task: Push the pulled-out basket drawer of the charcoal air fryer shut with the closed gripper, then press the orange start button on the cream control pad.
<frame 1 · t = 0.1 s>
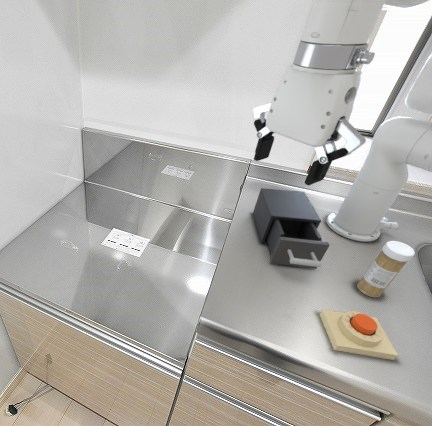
hand: (284, 169, 50), 31 cm above the worktop, tool pointing down, fingers open, 9 cm apart
control pad: (353, 335, 58), on the worktop
start button: (363, 324, 56), point 4 cm above the worktop, slide at 0.1 cm
sprinkles bottle: (367, 290, 67), on the worktop
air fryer: (277, 230, 85), on the worktop
drawer: (294, 243, 73), point 5 cm above the worktop, slide at 7.0 cm
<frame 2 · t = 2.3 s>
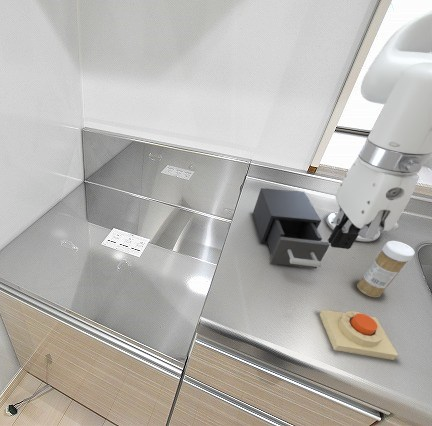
hand: (338, 244, 55), 17 cm above the worktop, tool pointing down, fingers closed
nothing on the worktop moved.
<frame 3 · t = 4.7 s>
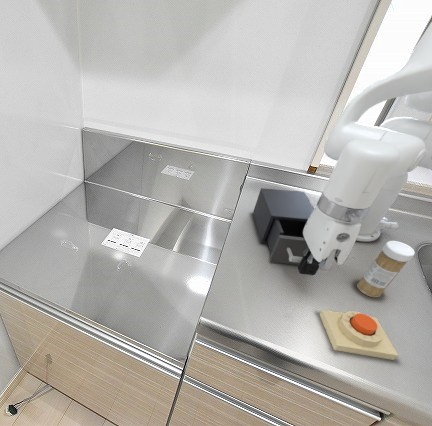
hand: (305, 271, 66), 5 cm above the worktop, tool pointing down, fingers closed
drawer: (293, 241, 74), point 5 cm above the worktop, slide at 6.4 cm, touching gripper
everything else where it was.
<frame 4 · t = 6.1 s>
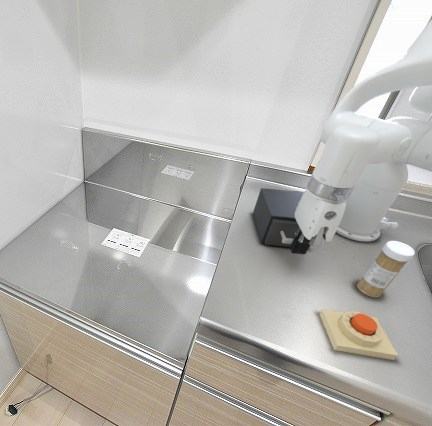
hand: (297, 251, 71), 5 cm above the worktop, tool pointing down, fingers closed
drawer: (286, 225, 79), point 5 cm above the worktop, slide at 0.0 cm, touching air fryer, gripper
everything else where it was.
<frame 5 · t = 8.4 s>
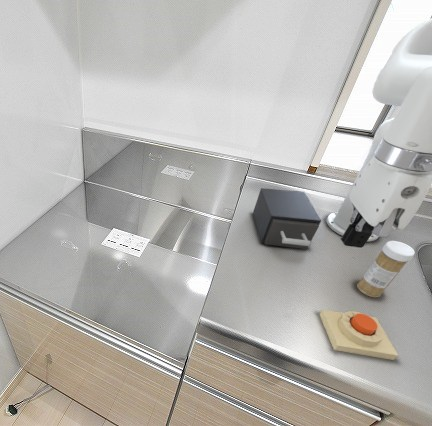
hand: (351, 243, 56), 17 cm above the worktop, tool pointing down, fingers closed
drawer: (286, 225, 79), point 5 cm above the worktop, slide at 0.0 cm
everything else where it was.
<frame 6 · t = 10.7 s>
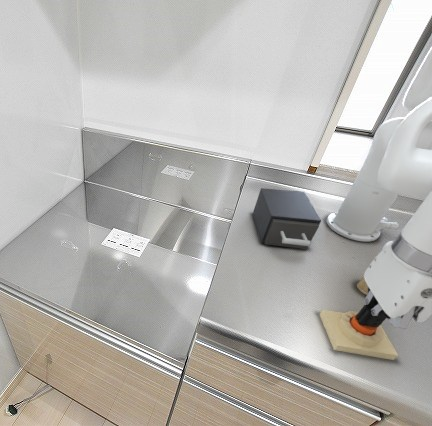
hand: (365, 322, 55), 5 cm above the worktop, tool pointing down, fingers closed
start button: (363, 324, 56), point 4 cm above the worktop, slide at 0.1 cm, touching gripper
everything else where it was.
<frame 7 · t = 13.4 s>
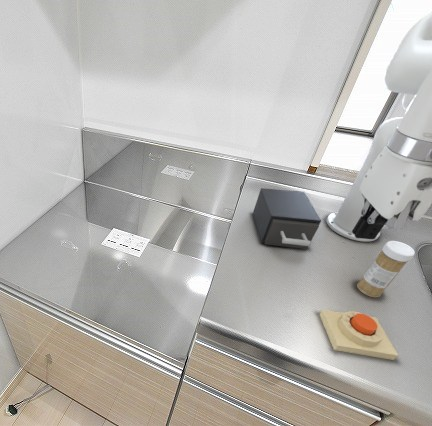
hand: (362, 235, 55), 18 cm above the worktop, tool pointing down, fingers closed
start button: (363, 324, 56), point 4 cm above the worktop, slide at 0.1 cm
everything else where it was.
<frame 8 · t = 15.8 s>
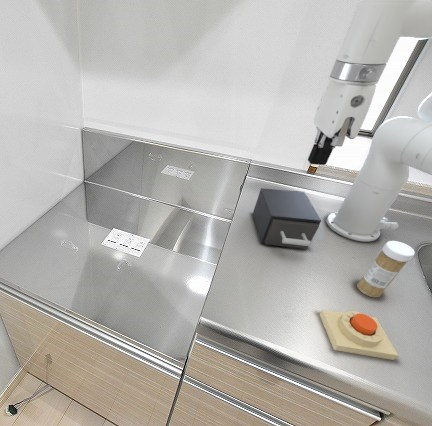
hand: (316, 162, 64), 25 cm above the worktop, tool pointing down, fingers closed
nothing on the worktop moved.
at the end: drawer slide at 0.0 cm; start button pushed in 1.1 cm at the most during the clip, back to where it started at the end; start button slide at 0.1 cm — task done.
